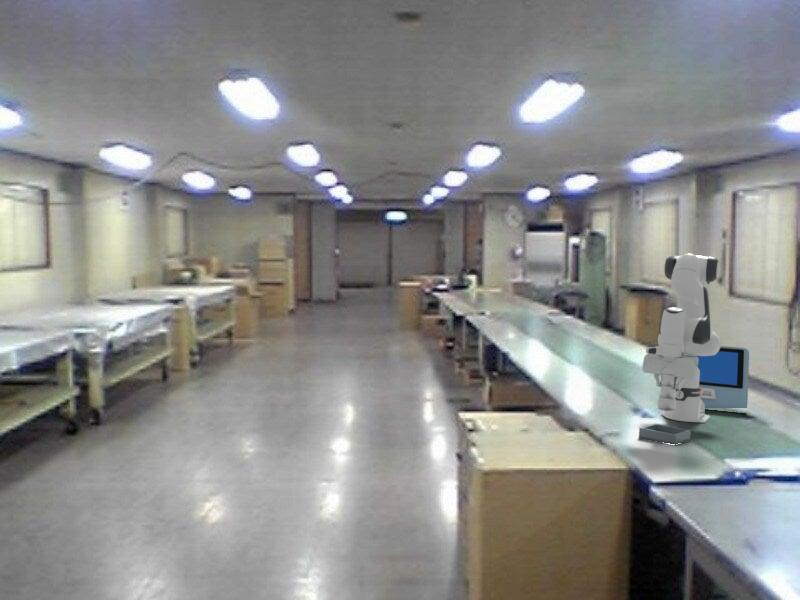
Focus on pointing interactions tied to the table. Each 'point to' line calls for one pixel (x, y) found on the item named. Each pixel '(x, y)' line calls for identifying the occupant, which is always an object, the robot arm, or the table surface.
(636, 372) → the table surface
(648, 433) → the box
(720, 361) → the touchscreen device
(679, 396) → the robot arm
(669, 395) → the plastic bottle
